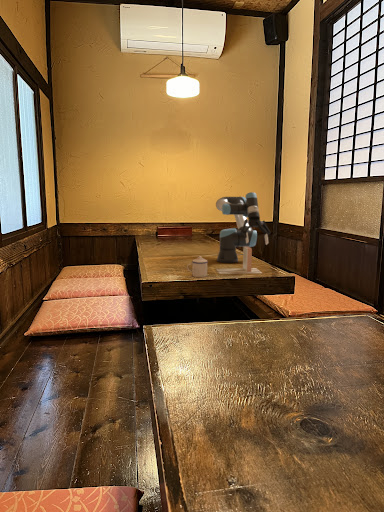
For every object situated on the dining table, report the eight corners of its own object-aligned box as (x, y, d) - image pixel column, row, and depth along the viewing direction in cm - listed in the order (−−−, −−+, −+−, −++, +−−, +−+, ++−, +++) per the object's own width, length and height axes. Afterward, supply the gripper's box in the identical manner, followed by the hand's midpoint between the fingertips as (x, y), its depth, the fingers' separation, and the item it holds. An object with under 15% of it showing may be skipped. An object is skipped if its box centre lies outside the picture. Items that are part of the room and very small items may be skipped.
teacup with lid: (208, 274, 218) (208, 255, 216) (206, 277, 209) (207, 257, 207) (188, 273, 220) (188, 254, 218) (186, 277, 211) (186, 257, 209)
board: (214, 268, 235) (214, 267, 235) (254, 268, 237) (254, 266, 237) (219, 275, 215) (219, 273, 215) (262, 274, 217) (262, 272, 217)
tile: (242, 268, 231) (243, 246, 229) (247, 268, 232) (248, 246, 229) (246, 271, 222) (247, 248, 219) (251, 271, 222) (251, 248, 220)
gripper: (237, 209, 234) (241, 239, 226) (273, 212, 240) (277, 241, 232) (233, 215, 241) (236, 244, 232) (268, 218, 247) (272, 246, 238)
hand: (257, 243), depth 232 cm, fingers open, 13 cm apart
